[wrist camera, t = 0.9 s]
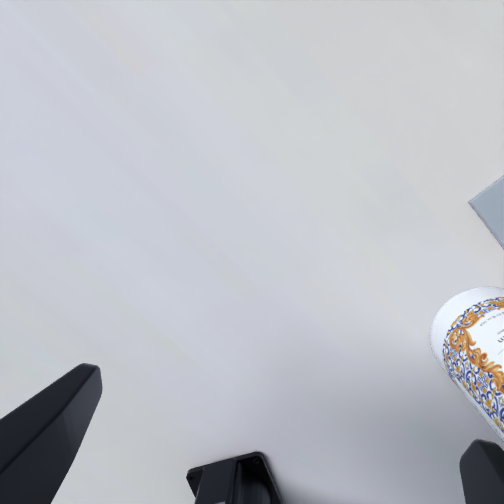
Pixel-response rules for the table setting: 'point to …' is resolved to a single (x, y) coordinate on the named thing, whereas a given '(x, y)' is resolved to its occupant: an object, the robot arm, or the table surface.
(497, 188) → the gray square holder
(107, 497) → the table surface
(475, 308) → the bath foam
